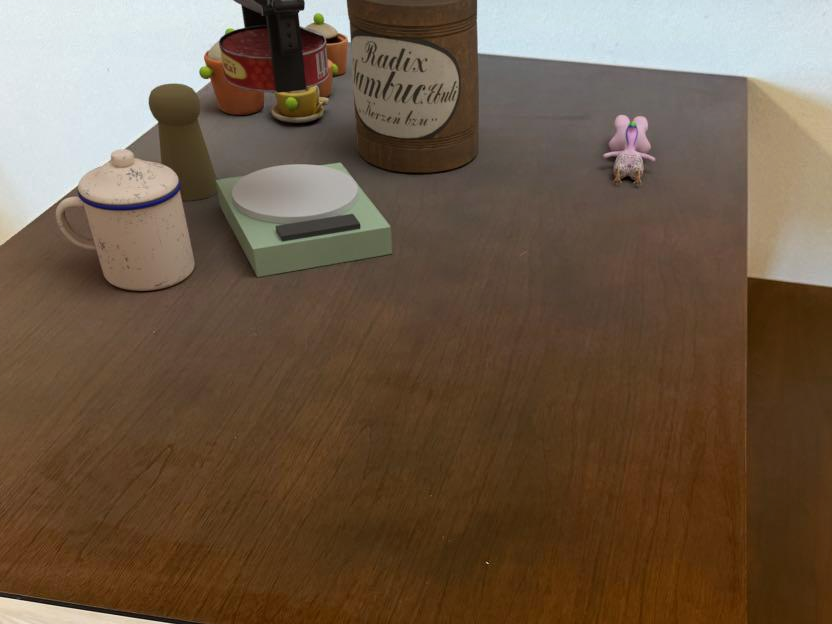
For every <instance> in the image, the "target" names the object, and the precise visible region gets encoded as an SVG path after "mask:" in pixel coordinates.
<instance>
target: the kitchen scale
mask: <svg viewBox="0 0 832 624" xmlns="http://www.w3.org/2000/svg"><path fill="white" fill-rule="evenodd" d="M215 181H216V187H217V192H216V193H217V197H218V203H219V207H220V209H221V211H222V213H223V214H224V217H225V218H226V220H227V222H228V224H229V226H230V228H231V230H232V232H233V234H234V236H235V237H236V239H237V241H238V243H239V245H240V247H241V249H242V251H243V253H244V255H245V256H246V258H247V260H248V262H249V264H250V266H251V268H252V270H253V271H254V274H255V276H256V277H257V278H262V277H267V276H273V275H278V274H284V273H290V272H295V271H301V270H306V269H313V268H319V267H325V266H331V265H337V264H341V263H348V262H354V261H359V260H365V259H371V258H376V257H382V256H387V255H392V254H393V245H392V244H393V241H392V226H391V224H389V222H388V221H387V219H385V217H384V216H383V215H382V213H381V212H380V211H379V209H378V208H377V207H376V206H375V204H374V203H373V201H372V200H371V199H370V198H369V197H368V195H367V194H366V193H365V192H364V191H363V189H362V187H360V185H359V184H358V183H357V181H356V180H355V179H354V178H353V176H352V175H351V174H350V173H349V171H348V170H347V168H346V167H345V166H344V165H343V164H342V162H335V163H327V164H320V165H319V164H316V165H315V164H304V163H303V164H302V163H301V164H300V163H298V164H296V163H293V164H292V163H291V164H282V165H274V166H270V167H266V168H265V167H264V168H261V169H258V170H255V171H252V172H251V173H249V174H246V175H239V176H234V177H226V178H219V179H217V180H215Z"/></svg>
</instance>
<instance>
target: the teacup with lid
mask: <svg viewBox="0 0 832 624" xmlns="http://www.w3.org/2000/svg"><path fill="white" fill-rule="evenodd" d="M180 188H181V182H180V179H179V178H178V176H177V174H176V173H175V172H174V171H173V170H172V169H171V168H169V167H167V166H165V165H163V164H161V163H159V162H155V161H150V160H149V161H148V160H144V159H140V158H136V157H135V154H134V153H133V152H132V150H129V149H125V148H122V149H121V148H120V149H116V150H113V151H112V152H111V154H110V160H109V161H107V162H105V163H104V164H103V165H100V166H98V167H95V168H93V169H91V170H89V171H87V173H85V174H84V175H83V176H82V177H81V178H80V180H79V181H78V184H77V196H69V197H66V198H64V199H63V200H61V201H60V202H59V203H58V205H57V207H56V208H55V220H56V223H57V226H58V228H59V229H60V231H61V232H62V233H63V235H64V236H65V237H66V238H67V239H68V240H69V241H70V242H71V243H72V244H74V245H76V246H78V247H79V248H83V249H87V250H91V251H92V250H95V251H96V253H97V256H98V260H99V265H100V267H101V271H102V274H103V277H104V278H105V280H106V281H107V282H108V283H109V284H111V285H112V286H115V287H117V288H119V289H122V290H127V291H134V292H135V291H136V292H147V291H158V290H162V289H166V288H169V287H172V286H174V285H177V284H179V283H182V281H184V280H186V279H187V278H188V277H189V276H190V275H192V273H193V272H194V269H195V266H196V265H195V264H196V263H195V257H194V252H193V248H192V243H191V238H190V233H189V228H188V223H187V219H186V214H185V209H184V205H183V200H182V199H181V195H180ZM71 208H84V210H85V214H86V218H87V221H88V225H89V229H90V232H91V235H92V238H88V237H85V236H83V235H81V234H79V233H78V232H77V231H76V230H75V229H74V228H73V226H71V224H70V222H69V221H68V219H67V215H66V210H67V209H71Z"/></svg>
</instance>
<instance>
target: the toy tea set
mask: <svg viewBox="0 0 832 624" xmlns="http://www.w3.org/2000/svg"><path fill="white" fill-rule="evenodd" d="M312 19H313V22H312V23H309V24H308V25H306V26H305V27H304V28H308V29H312V30H314V31H317V32H319V33H321V34H322V35H324V37H325V39H326V48H327V58H328V69H329V75H328V78H327V79H326V80H325V81H323V82H322V83H320V84H318V85H316V86H313V87H310V88H307V90H299V91H290V92H281V93H277V92H273V93H274V96H275V100H276V102H277V103H276V104H275V105H273V106H272V107H271V109H270V112H271V115H272V117H273V118H274V119H277V120H279V121H281V122H284V123H290V124H303V123H310V122H312V121H315V120H318V119H320V118H321V117H322V116H323V115H324V112H325V110H324V107H323V106H328V105H330V98H328V97H330V96H331V94H332V89H333V88H332V87H333V77H336V76H340V75H342V74H344V73H345V72H346V70H347V61H348V60H347V59H348V44H349V43H348V42H349V38H348V36H347V35H345V34H344V33H340V32H338V30H337V29H336V28H335V27H334V26H333V25H331V24H330V23H327V22H325V17H324V15H323V14H322V13H320V12H318V13H315V14H314V15H313V17H312ZM234 30H235V29H234V28H232V27H230V28H227V29H226V30H225V33H224V35H225V34H227V33H229V32H231V31H234ZM203 60H204V64H205V65H204V66H201V67H200V68H199V71H198V72H199V76H200V77H201V78H202V79H203V80H210V83H211V86H212V89H213V93H214V95H215V99H216V103H217V105H218V108H219V109H220V110H221V111H222V112H223V113H226V114H229V115H235V116H244V115H245V116H247V115H253V114H256V113H258V112H261V110H263V107H264V106H265V92H260V91H252V90H246V89H242V88H239V87H236V86H234V85H231V84H230V83H229V82H227V81H226V79H225V78H224V70H223V64H222V58H221V51H220V46H219V40H218V41H216V42H215V43H214V44H213V45H212V46H211V47H210V49H208V50H207V51H206V52H205V53H204V55H203Z"/></svg>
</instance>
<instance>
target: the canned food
mask: <svg viewBox="0 0 832 624" xmlns="http://www.w3.org/2000/svg"><path fill="white" fill-rule="evenodd" d="M233 2H235V3H237V4H238V5H243V6H244V7H246V8H248V9H250V10H253V11H255V12H258V13H260V14H261V11H260V10H261V7H262V6H261V5H260V4H258V3H257V2H255V1H254V0H233ZM300 33H301V42H302V51H303V61H304V70H305V79H306V88H310V87H313V86H316V85H318V84H320V83H322V82H323V81H325V80H326V79H327V78H328V75H329V69H328V58H327V48H326V39H325V37H324V35H322V34H321V33H319V32H317V31H314V30H312V29H308V28H305V27H303V26H302V25H300ZM218 41H219V46H220V51H221V58H222V64H223V70H224V78H225V79H226V81H227V82H229V83H230V84H231V85H234V86H236V87H239V88H242V89H246V90H252V91H260V92H264V93H274V92H277V91H276V89H275V81H274V74H273V66H272V58H271V51H270V43H269V35H268V28H267V25H261V26H252V27H246V28H245V27H241V28H238V29H234V31H231V32H229V33H227V34H225V33H224V34H223V35H222V36H221V37H220V39H219V40H218Z"/></svg>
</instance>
